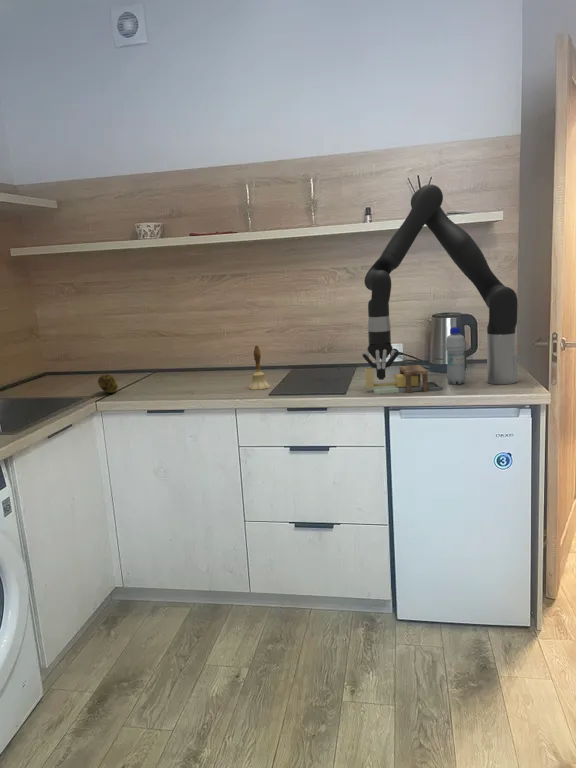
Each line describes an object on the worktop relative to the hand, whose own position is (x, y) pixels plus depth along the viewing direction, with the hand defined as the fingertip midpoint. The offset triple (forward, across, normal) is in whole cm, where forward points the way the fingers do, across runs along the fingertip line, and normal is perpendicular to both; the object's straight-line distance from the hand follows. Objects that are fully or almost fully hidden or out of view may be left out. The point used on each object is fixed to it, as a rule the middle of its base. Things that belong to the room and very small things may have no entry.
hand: (381, 379), depth 218 cm
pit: (+4, -17, 0) cm, 18 cm away
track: (+4, -6, 0) cm, 7 cm away
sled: (+3, -4, 0) cm, 4 cm away
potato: (+4, +102, -30) cm, 106 cm away
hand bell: (+4, +43, -21) cm, 48 cm away
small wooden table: (+4, -11, 0) cm, 12 cm away
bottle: (+4, -27, -4) cm, 28 cm away
